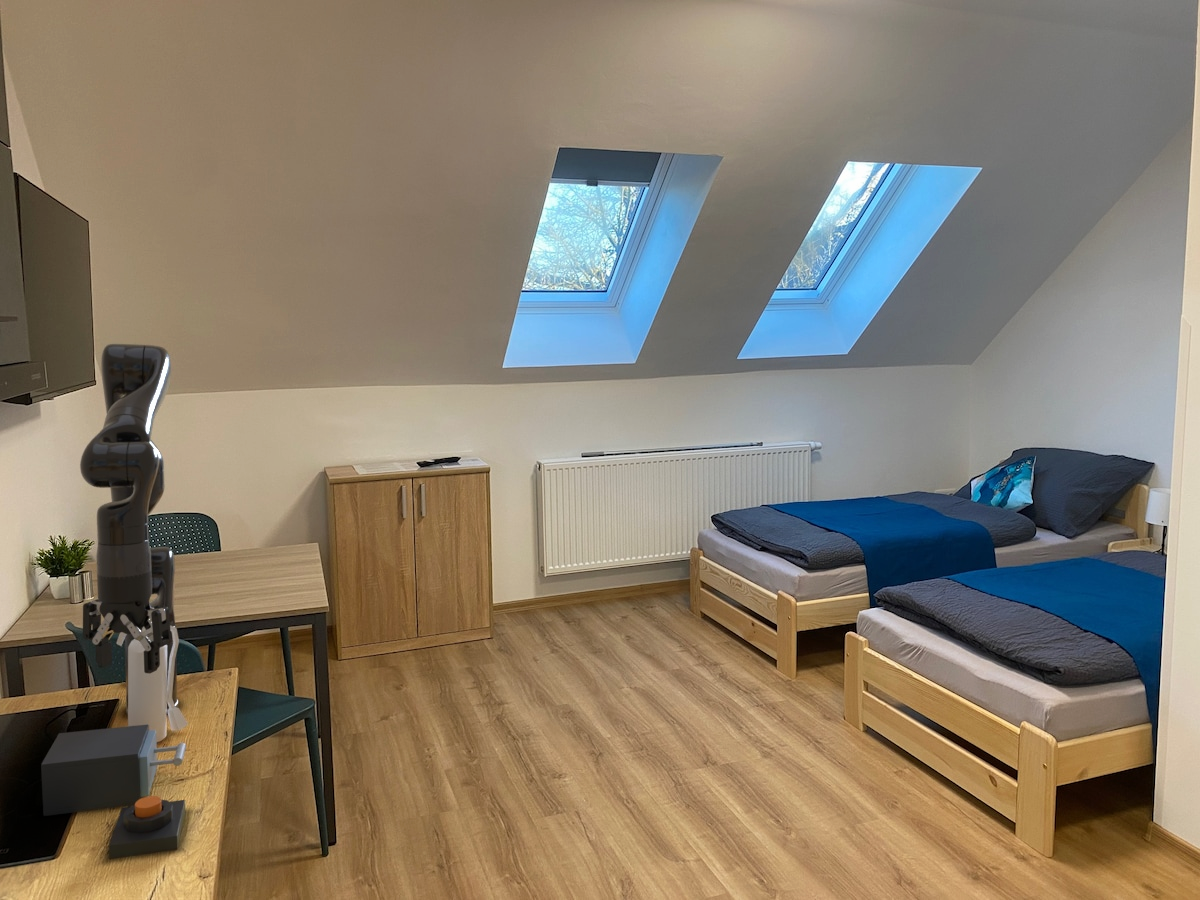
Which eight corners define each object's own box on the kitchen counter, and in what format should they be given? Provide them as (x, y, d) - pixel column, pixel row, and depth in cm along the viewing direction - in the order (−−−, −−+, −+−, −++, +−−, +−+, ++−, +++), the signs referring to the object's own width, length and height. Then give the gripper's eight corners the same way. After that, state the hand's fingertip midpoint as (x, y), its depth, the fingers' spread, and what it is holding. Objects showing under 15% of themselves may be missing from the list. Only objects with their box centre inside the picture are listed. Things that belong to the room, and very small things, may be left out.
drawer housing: (150, 771, 155) (148, 724, 154) (139, 804, 145) (138, 753, 144) (61, 781, 151) (58, 733, 150) (43, 816, 140) (40, 764, 139)
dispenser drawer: (188, 763, 157) (187, 726, 156) (181, 792, 147) (180, 752, 146) (75, 776, 151) (73, 738, 150) (60, 807, 141) (58, 766, 141)
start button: (137, 808, 137) (136, 797, 136) (163, 805, 138) (162, 794, 138) (133, 820, 133) (132, 809, 133) (160, 817, 134) (159, 806, 134)
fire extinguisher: (187, 741, 167) (184, 611, 164) (114, 749, 163) (109, 617, 160) (190, 726, 174) (186, 601, 171) (120, 734, 169) (115, 606, 166)
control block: (122, 820, 140) (121, 796, 139) (185, 812, 143) (184, 788, 142) (109, 859, 129) (108, 833, 129) (177, 849, 132) (176, 824, 132)
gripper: (180, 567, 141) (183, 665, 143) (104, 559, 144) (107, 656, 146) (146, 579, 134) (149, 682, 136) (66, 570, 137) (71, 672, 139)
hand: (127, 668), depth 141 cm, fingers open, 8 cm apart
